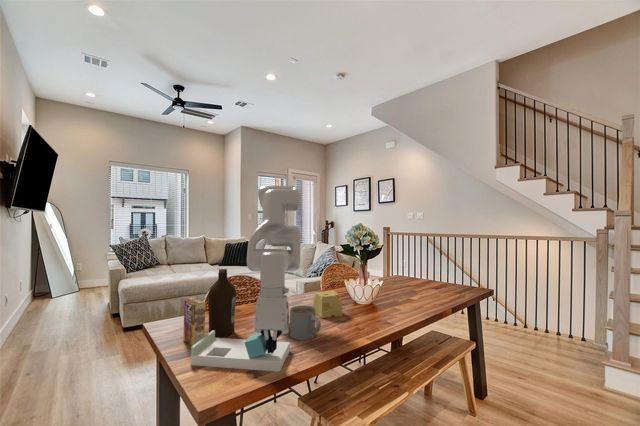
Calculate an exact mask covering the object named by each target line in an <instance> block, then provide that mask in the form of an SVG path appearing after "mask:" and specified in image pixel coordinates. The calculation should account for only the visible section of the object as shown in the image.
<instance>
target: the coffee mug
mask: <svg viewBox="0 0 640 426" xmlns="http://www.w3.org/2000/svg"><path fill="white" fill-rule="evenodd" d="M321 325H322V324H321V320H320V318H319V317H318V316H316V313H315V308H314V306H311V305H296V306H292V307H291V308H289V336H290V337H291V338H292V339H294V340H300V341H303V340H304V341H305V340H310V339H312V338H314V337H315V336H316V333H319V332H320V330H321V328H322V327H321Z"/></svg>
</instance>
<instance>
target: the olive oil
mask: <svg viewBox="0 0 640 426" xmlns="http://www.w3.org/2000/svg"><path fill="white" fill-rule="evenodd" d="M217 275H218V276H217V277H218V278H217V280H216V281H215V282H214V283H213V284H212V286H211V287H210V288H209V290H208V293H207V301H208V303H207V304H208V305H207V307H208V334H209V333H210V332H211V331H212V330H214V331H215V338H226V337H228V336H231V335H233V334H234V332H235V321H236V320H235V318H236V307H237V305H236V304H237V303H236V301H237V289H236V287H235V285H234V284H233V283H232V282H231V281H230V280H229V279H228V269H227V268H220V269H218V274H217Z"/></svg>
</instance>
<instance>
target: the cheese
mask: <svg viewBox="0 0 640 426" xmlns="http://www.w3.org/2000/svg"><path fill="white" fill-rule="evenodd" d="M342 303H343V302H342V299H341V297H340V294H338V292H337V291H335V290H327V291H320V292H319V291H317V292H314V296H313V307H314V308H315V315H317V316H319V317H320V318H321V319H327V318H331V317H335V318H337V317H338V318H339V317H342V316H343V309H342Z"/></svg>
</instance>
